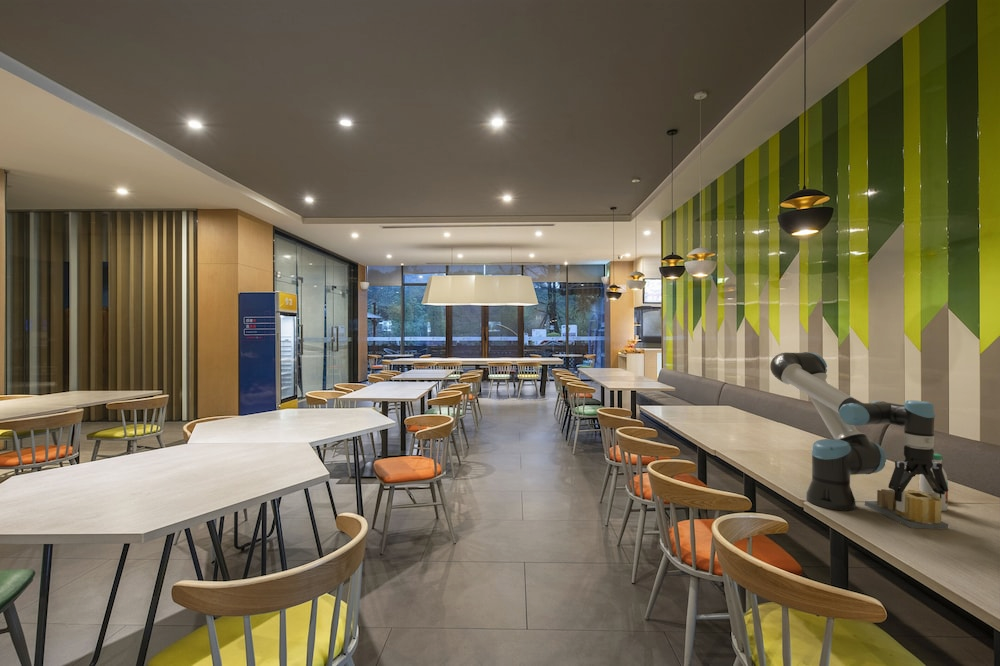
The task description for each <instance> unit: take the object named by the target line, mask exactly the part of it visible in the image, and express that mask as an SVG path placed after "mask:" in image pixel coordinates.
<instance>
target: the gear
mask: <svg viewBox="0 0 1000 666" xmlns="http://www.w3.org/2000/svg"><path fill="white" fill-rule="evenodd" d="M903 492H904V493H905V512H901V511H899V510H897V509H896V500H895V513H896V514H898V515H903V516H905V518H906V519H908V520H914V521H917V522H921V523H928V522H933V523H939V524H941V521H942V511H941V506H942V498H939V497H936V496H931V494H929V493H927V492H921V491H919V490H915V489H907V490H904V491H903Z"/></svg>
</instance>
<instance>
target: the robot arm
mask: <svg viewBox="0 0 1000 666" xmlns="http://www.w3.org/2000/svg"><path fill="white" fill-rule="evenodd" d="M769 364H770V365H769V367H770V368H769V369H770V371H771V374H773V376H774V377H775V378H776V379H777V380H778V381H780V382H782V383H783V384H785V385H791V386H793V387H795V388H796V389H799V391H802V392H803V393H805V394H806V395H807V396H808V397H809V399H810V401H811V403H812V404H813V405H814V408H815V409H816V411H817V413H818V414H819V415H820V417H821V420H822V421H823V422H824V424H825V426H826V428H827V430H828V431H829V433H830V434H831V436H832V437H833V438H831V439H830V438H822V439H818V440H816V441H814V443H812V450H811V455H812V456H811V462H812V463H811V482H810V484H809V486H808V489H807V490H806V495H805V497H806V501H807V502H809V503H811V504H813V505H816V506H818V507H822V508H825V509H830V510H834V511H853V510H855V509H856V503H857V502H856V499H855V496H854V493H853V491H852V488H851V476H854V475H871V474H877V473H878V472H881V471H882V470H883V469H884V468H885V467H886V462H887V455H886V452H885V450H884V449H883V447H882V446H881V445H880V444H878V443H876V442H874V441H870V439H869V438H868V436H867V434H865V433H864V432H860V431H858V429H857V428H856V426H866V425H894V426H899V427H903V432H904V433H903V444H904V446H903V456H904V458H905V459H904V461H899V460H895V461H894V470H893V472H892V475H891V477H890V480H889V483H888V487H887V488H889V490H894V491H895V500H896V509H897V510H899V511H901V512H905V493H904V492H903V491H905V490H906V488H907V486H908V485H909V483H910V482H911V480H912V479H913V478H914V477H916V475H917V476H918V475H919V476H920V474H922V475H924V477H925V478H926V480H927V481H928V483H929V485H930V486H931V488H932V489H933V491H934V492H933V491H930V494H931V496H936V497H939V498H941V494H945V492H948V493H949V486H948V487H947V484H946V481H945V478H944V475H943V472H942V467H943V464H941V463H942V462H941V463H938V462H932V460H933V459H934V453H935V452H934V451H935V450H934V449H933V448H934V447H935V418H936V417H935V416H936V415H935V407H934V404H933V403H931V402H930V401H923V400H914V399H913V400H912V399H911V400H906V401H905V402H904V404H898V403H892V402H886V401H878V400H874V401H871V402H867V403H866V402H862V401H860V400H858V399H856V398H854V397H853V396H851V395H849V394H848V393H846V392H844V391H842V390H840V389H838V388H836V387H835V386H833V385H831V384H829V383H828V382H827V377H828V374H827V371H828V369H827V368H828V365H827V362H826V360H825V359H824V357H822V356H821V355H819V354H817V353H815V352H814V353H813V352H808V351H805V352H781V353H779V354H777V355H775V356H774V357H773V358H772V360H771V362H770V363H769ZM931 468H932V470H933V473H934V476H933V473H932V471H931V470H930V469H931ZM934 477H935V478H934Z"/></svg>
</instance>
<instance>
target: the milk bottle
mask: <svg viewBox="0 0 1000 666" xmlns="http://www.w3.org/2000/svg"><path fill="white" fill-rule="evenodd" d="M932 462H938V463H941V464H942V462H943V455H942V454H939V453H937V452H934V459H933V460H932ZM942 465H943V464H942ZM930 470H931V471H932V473H933V470H932V468H931V469H930ZM942 472H943V475H944V478H945V481H946V484H947V487H948V488H949V481H948V476H947V475H948V474H947V472H946V471H945V469H944V467H943V466H942ZM933 476H934V473H933ZM934 478H935V477H934ZM918 484H919V489H918V491H921V492H927V493H929V494H930V491H933V489H932V488H931V486H930V485H929V483H928V481H927V480H926V478H925V477H924V475H922V474H919V482H918ZM933 492H934V491H933ZM941 498H942V506H941V512H946V511H948V506H949V505H948V504H949V503H948V502H949V500H948V498H949V491H948V492H945V494H941Z"/></svg>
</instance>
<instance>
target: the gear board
mask: <svg viewBox="0 0 1000 666" xmlns="http://www.w3.org/2000/svg"><path fill="white" fill-rule="evenodd" d="M876 491H877V492H876V493H877V494H876V495H877V497H876V501H875V500H864V506H867V507H869V508H870V509H872V510H874V511H876V512H878V513H881V514H882V515H884V516H886V517H889V518H891V519H892V520H893V521H894V520H895V521H896V522H898V523H900V522H901V524H902V523H903V525H904V524H905V526H906V525H907V527H908V526H909V528H910V527H913V528H912V529H939V530H940V529H945V530H948V529H949V524H948V523H947V522H944V521H942V520H941V524H939V523H933V522H928V523H921V522H917V521H914V520H908V519H906V518H905V516H903V515H898V514H896V513H895V491H894V490H892V489H886V488H885V489H884V488H883V489H877V490H876Z"/></svg>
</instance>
